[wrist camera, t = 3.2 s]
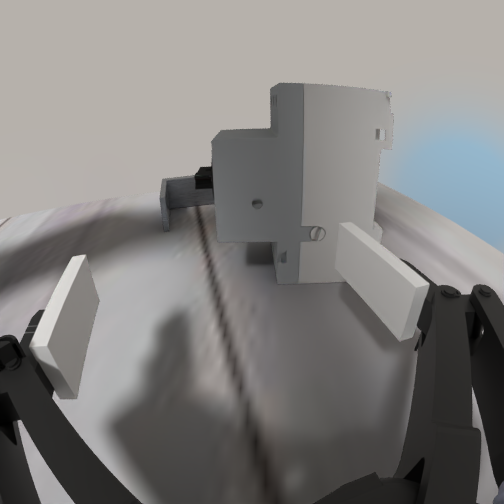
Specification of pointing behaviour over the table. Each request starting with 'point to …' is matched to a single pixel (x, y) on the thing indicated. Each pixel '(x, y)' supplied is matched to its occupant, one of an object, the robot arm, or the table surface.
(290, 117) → the circuit breaker
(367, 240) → the robot arm
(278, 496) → the table surface
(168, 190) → the grey u-shaped bracket
